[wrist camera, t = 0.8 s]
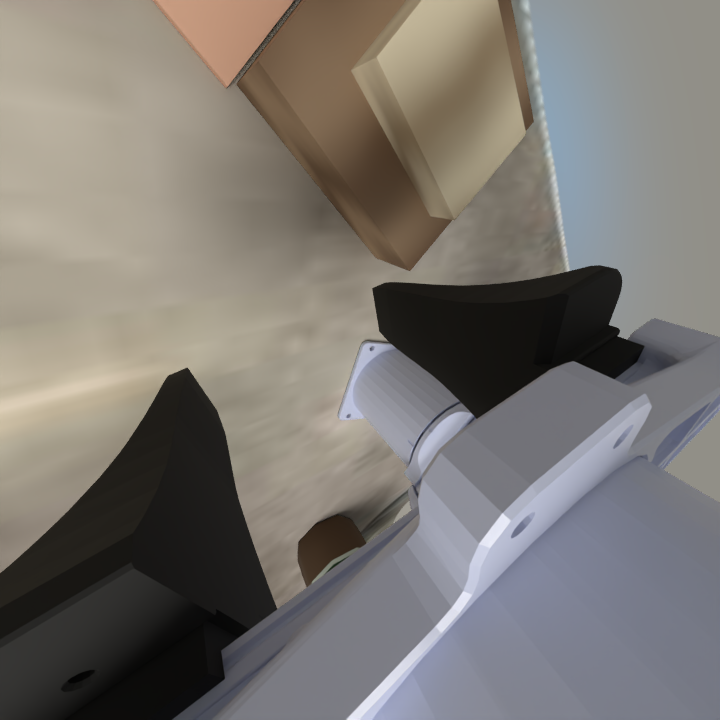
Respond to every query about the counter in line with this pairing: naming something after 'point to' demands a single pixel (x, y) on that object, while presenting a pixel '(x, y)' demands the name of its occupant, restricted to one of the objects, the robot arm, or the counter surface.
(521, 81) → the brown flat block
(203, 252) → the counter surface
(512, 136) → the tile
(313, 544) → the beer bottle
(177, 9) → the mat
